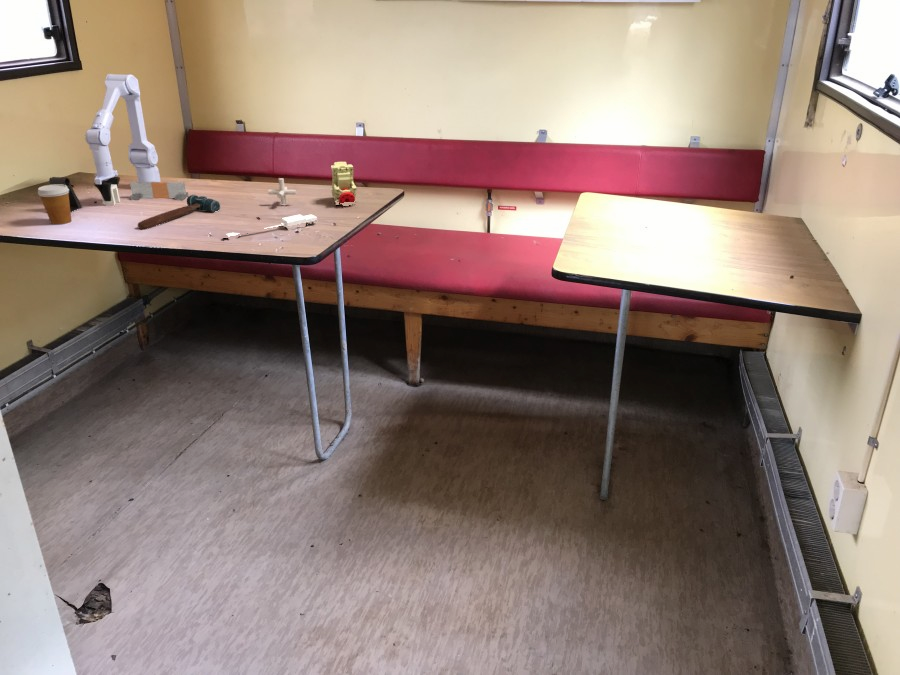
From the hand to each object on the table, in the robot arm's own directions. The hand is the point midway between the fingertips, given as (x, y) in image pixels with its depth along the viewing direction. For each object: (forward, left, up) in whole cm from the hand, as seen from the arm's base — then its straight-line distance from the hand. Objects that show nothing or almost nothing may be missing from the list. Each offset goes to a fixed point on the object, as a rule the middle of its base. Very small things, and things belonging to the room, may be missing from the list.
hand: (111, 199), depth 256 cm
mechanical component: (0, +88, -2) cm, 88 cm away
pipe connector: (+2, +65, -2) cm, 65 cm away
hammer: (+19, +31, -2) cm, 36 cm away
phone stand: (+10, -12, -2) cm, 16 cm away
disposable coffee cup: (+24, -7, -2) cm, 25 cm away
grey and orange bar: (-8, +15, -2) cm, 17 cm away
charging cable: (+33, +68, -2) cm, 75 cm away
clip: (0, 0, -2) cm, 2 cm away
